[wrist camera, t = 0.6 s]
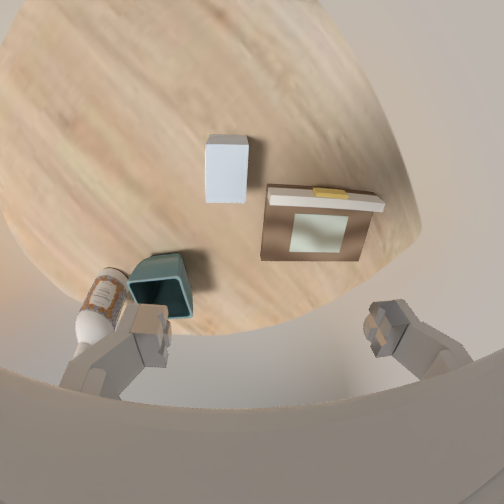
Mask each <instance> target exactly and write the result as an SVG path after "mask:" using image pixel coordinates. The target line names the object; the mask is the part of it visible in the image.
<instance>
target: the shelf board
mask: <svg viewBox="0 0 504 504" xmlns="http://www.w3.org/2000/svg"><path fill="white" fill-rule="evenodd" d="M268 187H273V188H292V189H307V190H313V188H325V187H312V186H298V185H282V184H267V189H266V201H265V211H264V222H263V233H262V244H261V254H260V256H261V261H359V257H360V254H361V251H362V248H363V245H364V241H365V238H366V235H367V231H368V228H369V224H370V221H371V217H372V214H373V211H361V210H348V209H334V208H318V207H300V206H278V205H270V204H269V201H268V197H267V195H268ZM326 189H336V188H326ZM337 190H344V191H345V192H346V193H355V194H364V195H373V196H377V195H376V194H374V193H373V192H366V191H357V190H347V189H337Z"/></svg>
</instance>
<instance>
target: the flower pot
mask: <svg viewBox="0 0 504 504" xmlns="http://www.w3.org/2000/svg"><path fill="white" fill-rule="evenodd" d="M126 284H127V287H128V289H129V291H130V293H131V294H132V297H133V299H134V301H135V303H137V304H153V305H166V306H167V309H168V313H169V314H168V318H167V319H178V318H190V317H193V299H192V290H191V286H190V283H189V280H188V276H187V273H186V270H185V266H184V263H183V259H182V257H181V255H180V254H178V253H174V254H166V255H158V256H152V257H149V258H146V259H144V260H143V261H141V262H140V263H139V264H138V265H137V266H136V268H135V269H134V271H133V272H132V274H131V276H130V277H129V279H128V280H127V282H126Z"/></svg>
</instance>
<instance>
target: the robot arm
mask: <svg viewBox="0 0 504 504" xmlns="http://www.w3.org/2000/svg"><path fill="white" fill-rule="evenodd" d="M369 311H370V314H369V315H368V316H367V317H366V318H365V321H364V328H363V329H364V334H365V336H366V339H367V340H369V341H370V342H372V343H371V346H370V347H371V349H372V351H373V353H374V355H375V357H376V358H378V357H385V356H391V355H393V357H394V358H395V359H396V360H397V361H398V362H400V363H401V364H402V365H403V366H405V367H406V368H407V369H408V370H409V371H410V372H411V373H413V374H414V375H415V376H416V377H418V378H419V379H420V381H418V382H415V383H412V384H408V385H404V386H401V387H397V388H393V389H389V390H385V391H381V392H377V393H372V394H368V395H363V396H358V397H353V398H347V399H341V400H335V401H329V402H322V403H314V404H306V405H297V406H286V407H273V408H253V409H203V408H202V409H201V408H183V407H170V406H159V405H150V404H142V403H134V402H127V401H122V400H121V399H120V397H119V395H120V394H121V392H122V391H123V390H124V389H125V388H126V387H127V386H128V385H129V384H130V383H131V382H132V381H133V380H134V379H135V378H136V376H137V375H138V374H139V373H140V372H141V371H142V370H143V369H144V367H161V368H166V364H167V359H168V351H167V348H168V347H169V346H170V343H171V324H170V322H169V321H168V320H167V318H168V314H169V313H168V309H167V306H166V305H153V304H137V303H129V304H128V305H127V306H126V308H125V311H124V313H123V315H122V318H121V320H120V322H119V325H118V327H117V330H116V332H114V331H112V332H111V333H109V334H108V335H106V336H105V337H104V338H102V339H101V340H99V341H98V342H97V343H95V344H94V345H92V346H91V347H90V348H88V349H87V350H85V351H84V352H83V353H81V354H80V355H78V356H77V357H76V358H74V359H73V360H71V361H70V362H69V364H68V366H67V368H66V370H65V373H64V375H63V377H62V380H61V382H60V385H59V387H58V386H54V385H51V384H48V383H44V382H41V381H37V380H35V379H32V378H29V377H26V376H23V375H20V374H17V373H15V372H12V371H10V370H7V369H5V368H2V367H0V504H504V348H503V349H501V350H498V351H496V352H494V353H492V354H490V355H488V356H486V357H483V358H481V359H479V360H477V361H473V360H472V358H471V357H470V355H469V354H468V352H467V351H466V350H465V348H464V347H463V345H462V344H460V343H459V342H457V341H455V340H454V339H452V338H450V337H449V336H447V335H445V334H443V333H441V332H440V331H438V330H436V329H435V328H433V327H431V326H429V325H427V324H426V323H424V322H420V321H419V319H418V318H417V316H416V315H415V314H414V312H413V311H412V310H411V308H410V307H409V306H408V304H407V303H406V302H405V300H403V299H397V300H392V301H379V302H373V303H372V304H371V305H370V308H369Z"/></svg>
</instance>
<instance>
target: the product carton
mask: <svg viewBox="0 0 504 504" xmlns="http://www.w3.org/2000/svg"><path fill="white" fill-rule="evenodd" d="M248 153H249V144H248V140H247V136H246V135H210V136H209V138H208V140H207V143H206V148H205V191H206V203H246V186H247V169H248Z"/></svg>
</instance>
